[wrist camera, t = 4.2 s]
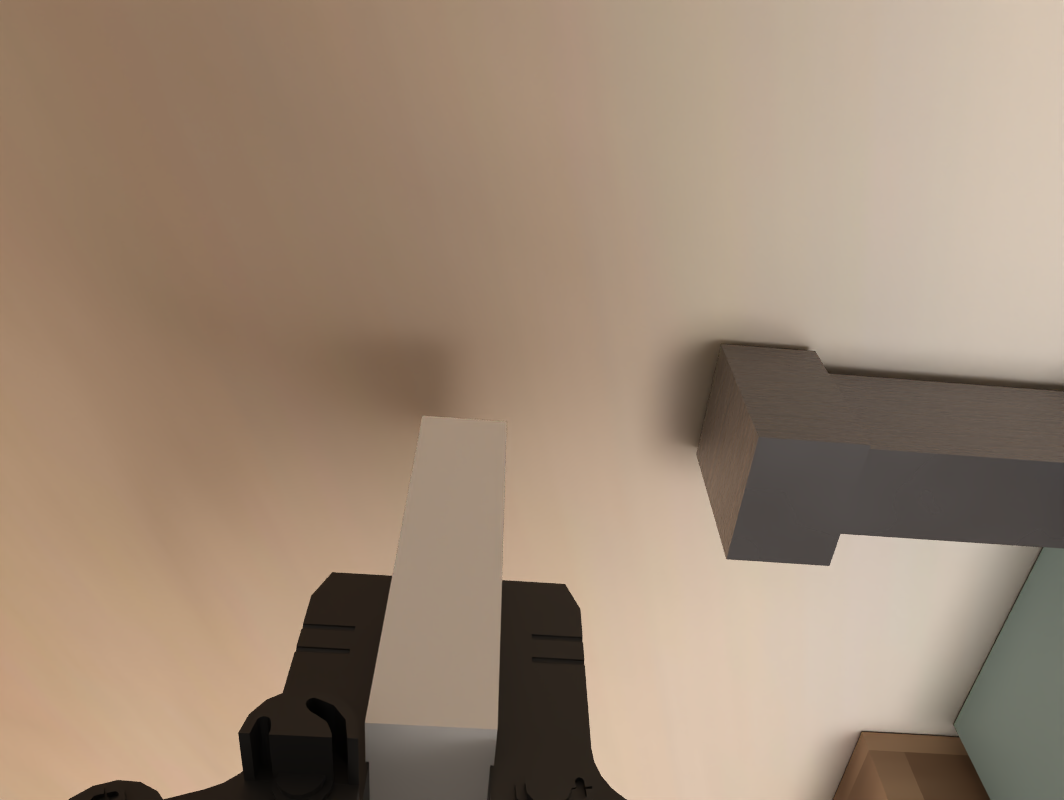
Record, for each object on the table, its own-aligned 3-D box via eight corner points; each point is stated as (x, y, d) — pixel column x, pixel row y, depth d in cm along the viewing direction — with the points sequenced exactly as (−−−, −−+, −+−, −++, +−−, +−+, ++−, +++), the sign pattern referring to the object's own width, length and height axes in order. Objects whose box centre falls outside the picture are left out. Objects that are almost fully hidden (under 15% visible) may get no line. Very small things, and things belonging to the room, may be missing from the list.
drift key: (721, 343, 18) (758, 437, 15) (1182, 379, 19) (1307, 476, 16) (696, 454, 20) (726, 558, 17) (1125, 484, 20) (1228, 591, 17)
